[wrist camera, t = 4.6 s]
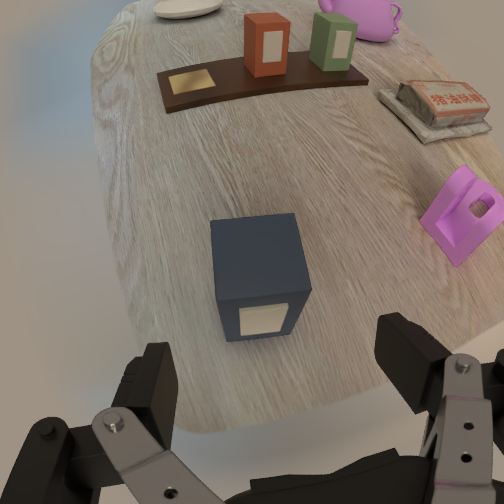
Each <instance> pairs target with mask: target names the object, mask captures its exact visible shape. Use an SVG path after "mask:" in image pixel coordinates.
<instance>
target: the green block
mask: <svg viewBox="0 0 504 504" xmlns="http://www.w3.org/2000/svg"><path fill="white" fill-rule="evenodd" d="M357 28H358V23H356V22H355V21H353V20H351V19H349V18H348V17H346V16H344V15H342V14H338V13H319V12H315V13H314V21H313V29H312V37H311V44H310V52H309V59H310V60H311V61H312V62H313V63H314V64H315V65H316V66H318V67H319V68H320V69H321V70H322V71H346V70H349V66H350V62H351V57H352V52H353V48H354V43H355V38H356V33H357Z"/></svg>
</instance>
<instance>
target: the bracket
mask: <svg viewBox="0 0 504 504" xmlns="http://www.w3.org/2000/svg"><path fill="white" fill-rule="evenodd" d="M478 200H482V201H484V202H485V203H486V204H487V206H488V208H489V211H488V212H487V213H486V214H485V215H484V216H482V217H481V218H477V217H475V216H474V215H473V214H472V213H471V211H470V209H469V207H470V206H472V205H473V204H474V203H475V202H477V201H478ZM503 220H504V200H503V198H502V196H501V195H500V194H499V192H498V191H497V190H496V189H495V188H494V187H493V186H492V185H490V184H489V183H487V182H485V181H483V180H479V179H477V175H476V174H475V173H474V172H473V171H472V170H471V169H470V168H469V167H468V166H467V165H466V164H465V165H463V166H461V167H460V168H459V169H457V170H456V171H455V172H454V173H453V174H452V175H451V177H450V178H449V179H448V180H447V181H446V183H445V184H444V186H443V187H442V189H441V190H440V192H439V193H438V195H437V196H436V198H435V199H434V201H433V202H432V203H431V205H430V206H429V208H428V209H427V211H426V212H425V214H424V215H423V216H422V218H421V219H420V221H419V222H420V223H421V224H422V225H423V227H424V228H425V229H426V230H427V231H428V233H429V234H430V235H431V236H432V238H433V239H434V240H435V241H436V242H437V244H438V245H439V246H440V248H441V249H442V250H443V251H444V253H445V254H446V255H447V257H448V258H449V259H450V260H451V262H452V263H453V264H454V266H455V267H457V266H458V265H459V264H460V263H461V262H462V261H463V260H464V259H465V258H466V257H467V256H468V255H469V254H470V253H471V252H472V251H473V250H475V249H476V248H477V247H478V246H479V245H480V244H481V243H482V242H483V241H484V240H485V239H486V238H487V236H488V235H489V234H490V233H491V232H492V231H493V230H494V229H495V228H496V227H497V226H498V225H499V224H500V223H501V222H502V221H503Z"/></svg>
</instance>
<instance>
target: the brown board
mask: <svg viewBox="0 0 504 504" xmlns="http://www.w3.org/2000/svg"><path fill="white" fill-rule="evenodd" d="M309 52H310V51H304V52H288V56H287V67H286V74H282V75H273V76H265V77H257V78H254V76H253V75H252V74H251V73H250V71H249V70H248V69H247V68H246V66H245V65H244V57H238V58H231V59H224V60H218V61H212V62H206V63H201V64H196V65H191V66H186V67H181V68H177V69H172V70H168V71H164V72H160V73H157V77H158V82H159V86H160V90H161V94H162V98H163V102H164V106H165V110H166V113H167V114H168V113H172V112H176V111H180V110H184V109H188V108H193V107H197V106H202V105H206V104H211V103H216V102H221V101H226V100H231V99H237V98H243V97H249V96H255V95H261V94H268V93H275V92H283V91H291V90H301V89H311V88H322V87H336V86H354V85H368V82H369V79H368V78H366V77H365V76H364V75H363V74H362V73H361V72H359V71H358V70H357V69H356V68H355V67H354V66H352V65H351V64H350V66H349V70H346V71H322V70H321V69H320V68H319V67H318V66H316V65H315V64H314V63H313V62H312V61H311V60H310V59H309Z"/></svg>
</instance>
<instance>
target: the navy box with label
mask: <svg viewBox="0 0 504 504" xmlns="http://www.w3.org/2000/svg"><path fill="white" fill-rule="evenodd" d="M210 227H211V242H212V256H213V269H214V281H215V293H216V302H217V306H218V310H219V314H220V318H221V322H222V326H223V330H224V334H225V338H226V341H227V342H232V341H241V340H250V339H259V338H267V337H275V336H282V335H289V334H290V333H291V331H292V329H293V327H294V325H295V323H296V321H297V319H298V317H299V315H300V313H301V311H302V309H303V307H304V305H305V303H306V301H307V299H308V297H309V295H310V293H311V291H312V287H311V282H310V278H309V273H308V269H307V264H306V260H305V256H304V251H303V247H302V243H301V239H300V234H299V230H298V226H297V222H296V218H295V214H294V213H288V214H276V215H265V216H254V217H243V218H232V219H222V220H212V221H210Z"/></svg>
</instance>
